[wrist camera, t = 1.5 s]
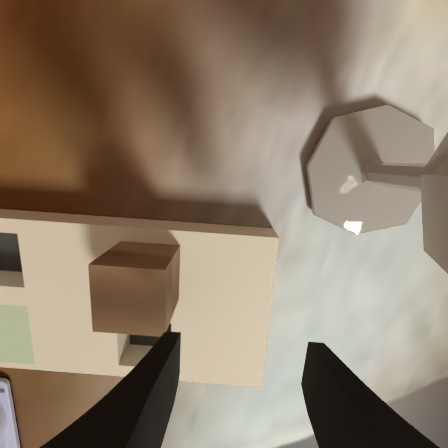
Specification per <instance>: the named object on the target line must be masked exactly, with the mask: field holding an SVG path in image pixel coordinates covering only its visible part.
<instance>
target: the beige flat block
mask: <svg viewBox="0 0 448 448" xmlns="http://www.w3.org/2000/svg"><path fill="white" fill-rule="evenodd" d="M120 241H127V242H141V243H155V244H169V245H180V274H179V300H178V303H177V305H176V308H175V311H174V313H173V316H172V318H171V321H170V324H169V326H168V329H167V331H169V332H181V346H180V375H179V381H189V382H202V383H215V384H228V385H241V386H254V387H261V382H262V374H263V366H264V358H265V350H266V342H267V334H268V326H269V318H270V310H271V301H272V293H273V285H274V277H275V269H276V261H277V253H278V245H279V237H278V235H277V233H276V232H275V230H274V229H273V228H263V227H249V226H235V225H221V224H207V223H193V222H178V221H164V220H150V219H136V218H122V217H108V216H93V215H79V214H65V213H51V212H37V211H23V210H8V209H0V367H7V368H20V369H33V370H46V371H59V372H72V373H85V374H98V375H111V376H124V377H125V376H126V375H127V374H128V373H129V372H130V371H131V370H132V369H133V368H134V367H135V366H136V365H137V364H138V362H139V361H140V360H141V359H142V358H143V357H144V356H145V355H146V354H147V353H148V351H149V350H150V349H151V348H152V347H153V345H154V344H155V343H156V342H157V341H158V339H159V338H160V337H157V336H144V335H130V334H117V333H104V332H93V330H92V315H91V300H90V285H89V270H88V264H90V263H91V262H92V261H94V260H95V259H96V258H98V257H99V256H101V255H102V254H103V253H105V252H106V251H108V250H109V249H110V248H112V247H113V246H115V245H116V244H117V243H119V242H120Z"/></svg>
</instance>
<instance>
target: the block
mask: <svg viewBox="0 0 448 448" xmlns="http://www.w3.org/2000/svg"><path fill="white" fill-rule="evenodd" d="M88 270H89V285H90V300H91V315H92V330H93V332H104V333H117V334H130V335H144V336H157V337H161V336H162V334H163V333H164V332H166V331H167V329H168V326H169V324H170V321H171V318H172V316H173V313H174V311H175V308H176V305H177V303H178V300H179V274H180V245H169V244H155V243H141V242H127V241H120V242H119V243H117V244H116V245H115V246H113V247H112V248H110V249H109V250H108V251H106V252H105V253H103V254H102V255H101V256H99V257H98V258H96V259H95V260H94V261H92V262H91V263H90V264H88Z"/></svg>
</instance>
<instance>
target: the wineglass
mask: <svg viewBox="0 0 448 448" xmlns="http://www.w3.org/2000/svg"><path fill="white" fill-rule="evenodd" d="M306 170H307V177H308V183H309V190H310V197H311V204H312V211H313V214H314V215H316V216H318V217H320V218H322V219H324V220H327V221H329V222H331V223H333V224H335V225H337V226H339V227H341V228H343V229H345V230H348V231H350V232H352V233H354V234H359V233H364V232H369V231H374V230H379V229H384V228H389V227H394V226H400V225H405V224H406V223H407V222H408V220H409V219H410V217H411V216H412V214H413V213H414V211H415V210H416V208H417V207H418V205H419V204H420V202H421V201H422V222H423V244H424V251H425V252H426V253H427V254H428V255H429V256H430V257H431V258H432V259H433V260H434V261H435V262H436V263H437V264H438V265H439V266H440V267H441V268H442V269H444V270H445V271H446V272H447V273H448V133H447V134H446V136H445V137H444V139H443V140H442V142H441V143H440V145H439V147H438V148H437V150H436V151H435V153H434V128H432V127H430V126H428V125H426V124H424V123H422V122H420V121H418V120H417V119H415V118H413V117H411V116H409V115H407V114H405V113H403V112H401V111H399V110H397V109H395V108H394V107H392V106H390V105H381V106H377V107H373V108H369V109H365V110H360V111H356V112H352V113H348V114H344V115H339V116H335V117H332V118H331V120H330V122H329V124H328V126H327V127H326V129H325V131H324V133H323V135H322V137H321V139H320V141H319V143H318V144H317V146H316V148H315V150H314V152H313V154H312V156H311V158H310V160H309V161H308V163H307V165H306Z"/></svg>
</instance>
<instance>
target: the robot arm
mask: <svg viewBox="0 0 448 448" xmlns="http://www.w3.org/2000/svg"><path fill="white" fill-rule="evenodd" d="M180 346H181V332H169V331H166V332H164V333H163V334H162V336H161V337H160V338H159V339H158V341H157V342H156V343H155V344H154V345H153V347H152V348H151V349H150V350H149V351H148V353H147V354H146V355H145V356H144V357H143V358H142V359H141V360H140V361H139V362H138V364H137V365H136V366H135V367H134V368H133V369H132V370H131V371H130V372H129V373H128V374H127V375H126V376H125V377H124V378H123V379H122V380H121V381H120V382H119V383H118V384H117V385H116V386H115V387H114V388H113V389H112V390H111V391H110V392H109V393H108V394H107V395H105V396H104V397H103V398H102V399H101V400H100V401H99V402H98V403H96V404H95V405H94V406H93V407H92V408H91V409H89V410H88V411H87V412H86V413H85V414H83V415H82V416H81V417H80V418H78V419H77V420H76V421H75V422H73V423H72V424H71V425H70V426H68V427H67V428H66V429H64V430H63V431H62V432H60V433H59V434H58V435H56V436H55V437H54V438H52V439H51V440H50V441H48V442H47V443H45V444H44V445H43V446H41V447H40V448H161V445H162V442H163V438H164V435H165V432H166V428H167V425H168V422H169V418H170V415H171V412H172V408H173V405H174V401H175V396H176V391H177V386H178V381H179V375H180ZM301 385H302V389H303V394H304V399H305V404H306V408H307V412H308V416H309V419H310V422H311V425H312V428H313V431H314V434H315V437H316V440H317V443H318V446H319V448H439V447H438V446H436V445H435V444H434V443H433V442H431V441H430V440H429V439H428V438H426V437H425V436H424V435H423V434H421V433H420V432H419V431H418V430H417V429H415V428H414V427H413V426H412V425H410V424H409V423H408V422H406V421H405V420H404V419H403V418H402V417H400V416H399V415H398V414H397V413H396V412H395V411H394V410H393V409H392V408H390V407H389V406H388V405H387V404H386V403H385V402H384V401H383V400H381V399H380V398H379V397H378V396H377V395H376V394H375V393H374V392H373V391H372V390H371V389H370V388H369V387H367V386H366V385H365V384H364V383H363V382H362V381H361V380H360V379H359V378H358V377H357V376H356V375H355V374H354V373H353V372H352V371H351V370H350V369H349V368H348V367H347V366H346V365H345V364H344V363H343V362H342V361H341V360H340V359H339V358H338V357H337V356H336V355H335V354H334V353H333V352H332V351H331V350H330V349H329V348H328V347H327V346H326V345H325V344H324V343H315V342H308V347H307V353H306V359H305V365H304V371H303V377H302V383H301ZM0 448H20V442H19V436H18V430H17V424H16V418H15V412H14V406H13V400H12V394H11V387H10V382H9V380H8V379H6V378H0Z"/></svg>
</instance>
